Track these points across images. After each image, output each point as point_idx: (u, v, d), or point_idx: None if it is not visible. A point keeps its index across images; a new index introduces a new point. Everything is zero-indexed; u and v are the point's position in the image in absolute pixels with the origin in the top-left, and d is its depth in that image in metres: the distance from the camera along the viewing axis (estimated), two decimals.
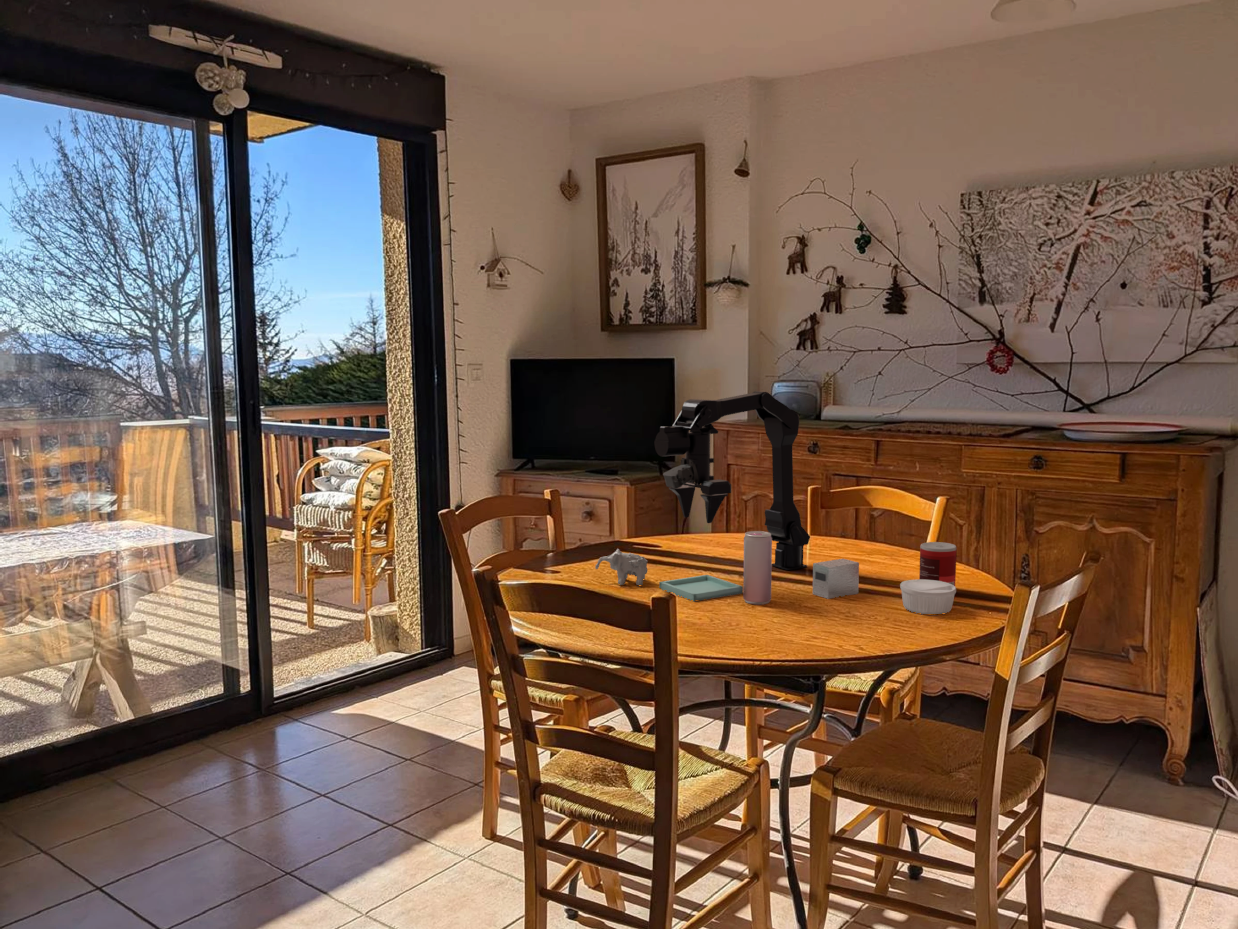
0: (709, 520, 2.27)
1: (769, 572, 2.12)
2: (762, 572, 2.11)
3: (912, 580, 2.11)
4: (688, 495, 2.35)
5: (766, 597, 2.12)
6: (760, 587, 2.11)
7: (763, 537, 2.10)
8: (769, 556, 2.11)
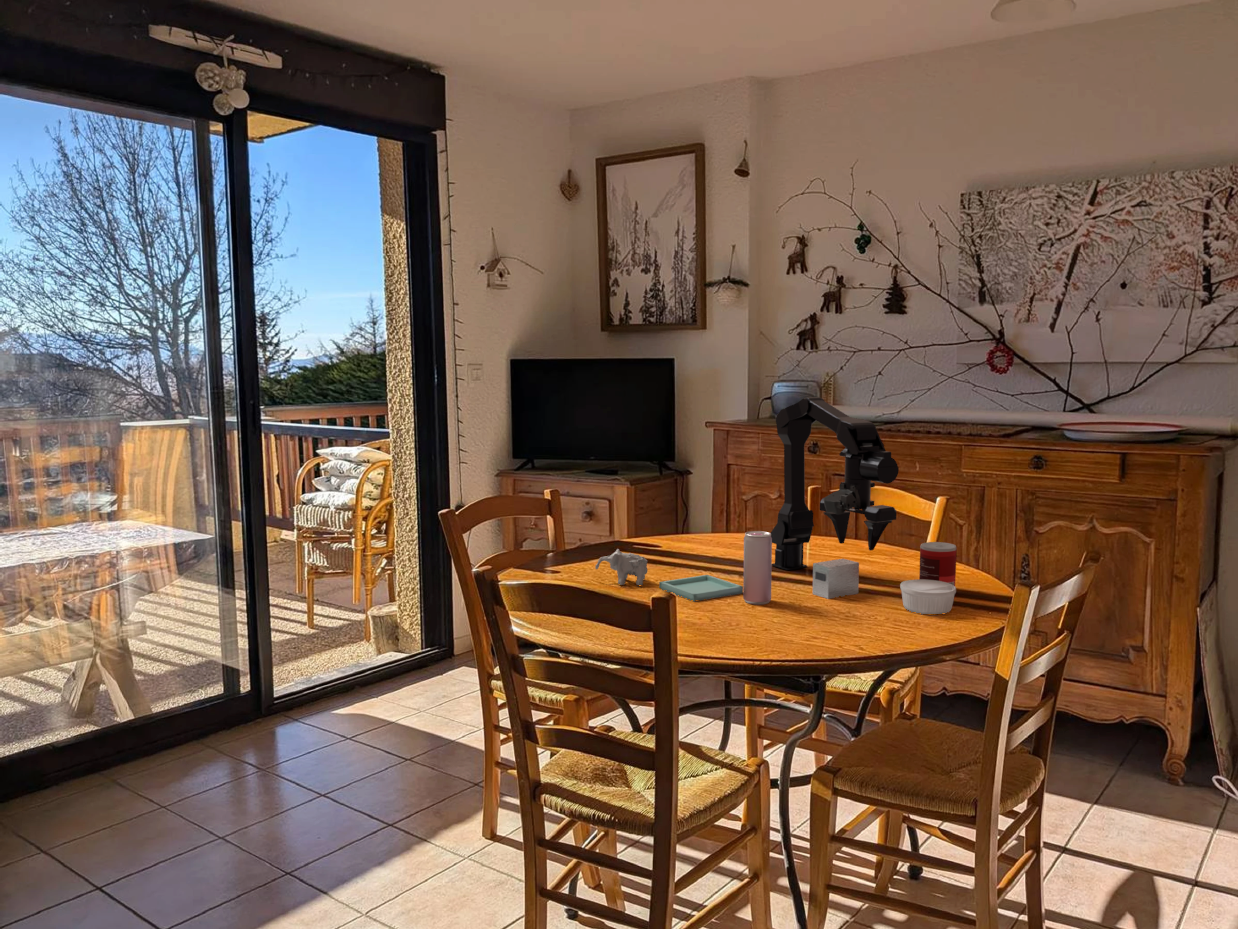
0: (871, 547, 2.18)
1: (769, 572, 2.12)
2: (762, 572, 2.11)
3: (912, 580, 2.11)
4: (844, 520, 2.27)
5: (766, 597, 2.12)
6: (760, 587, 2.11)
7: (763, 537, 2.10)
8: (769, 556, 2.11)
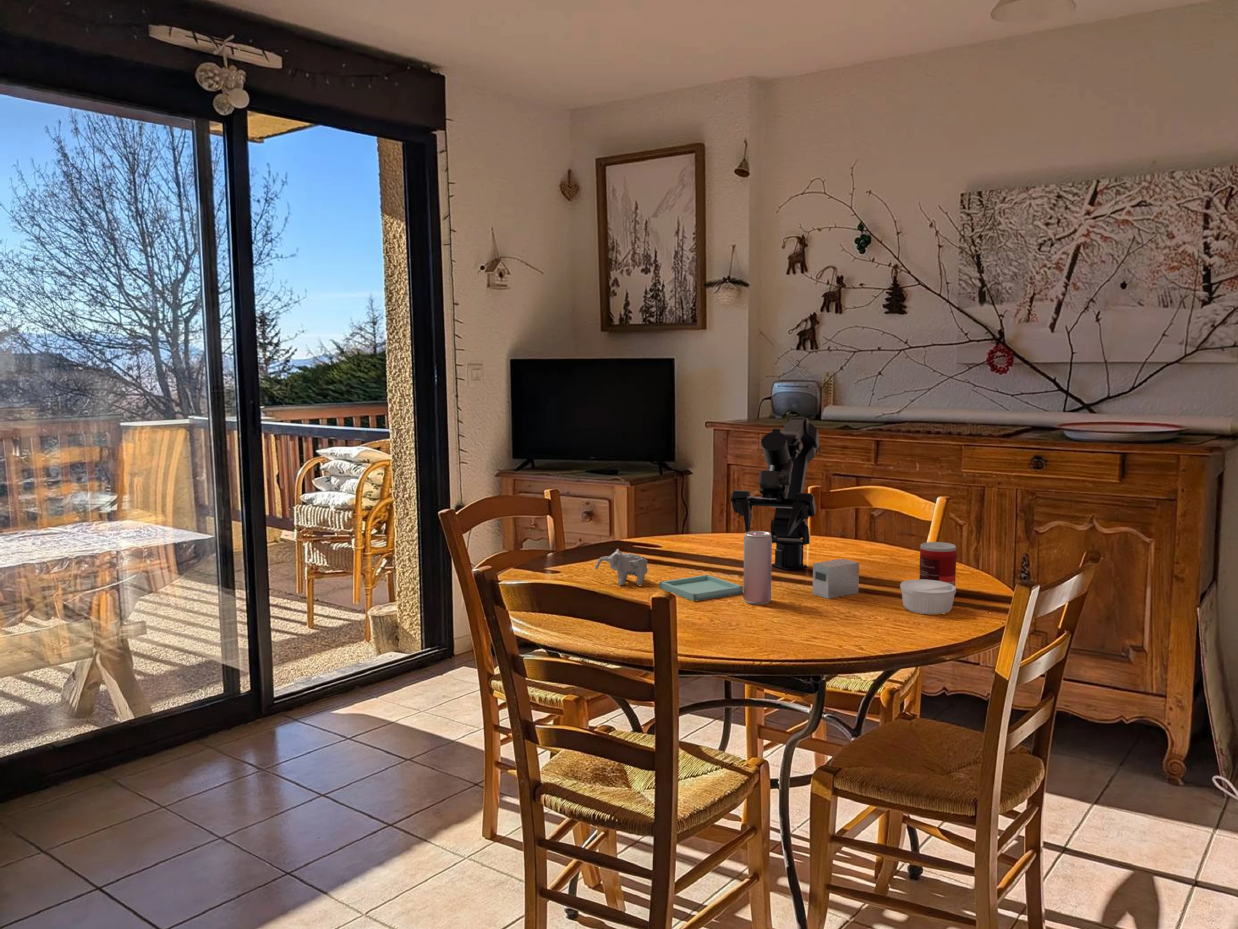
0: (789, 532, 2.19)
1: (769, 572, 2.12)
2: (762, 572, 2.11)
3: (912, 580, 2.11)
4: (750, 516, 2.26)
5: (766, 597, 2.12)
6: (760, 587, 2.11)
7: (763, 537, 2.10)
8: (769, 556, 2.11)
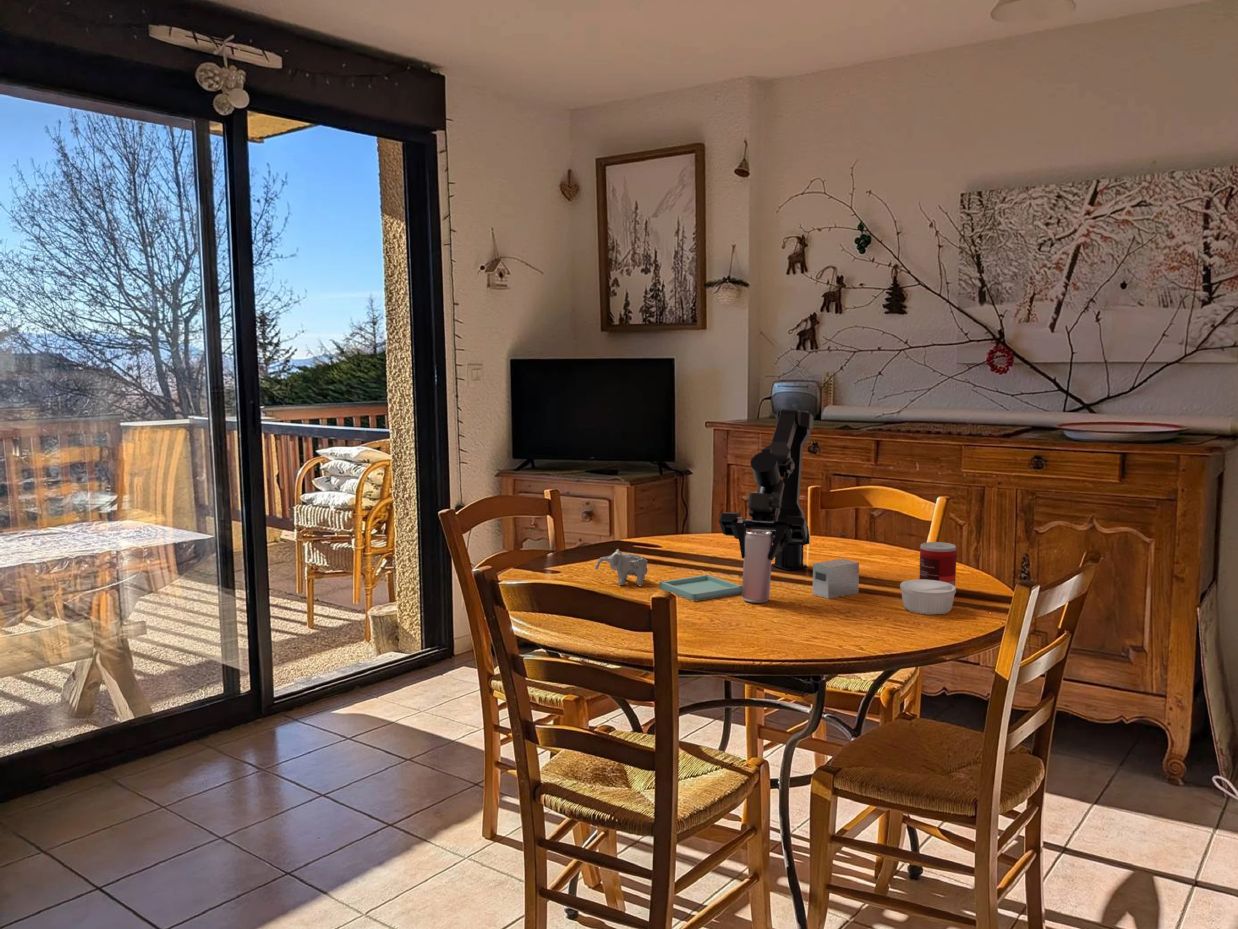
0: (773, 556, 2.12)
1: (768, 571, 2.12)
2: (762, 571, 2.11)
3: (912, 580, 2.11)
4: None
5: (764, 596, 2.12)
6: (759, 585, 2.12)
7: (764, 536, 2.11)
8: (769, 555, 2.12)
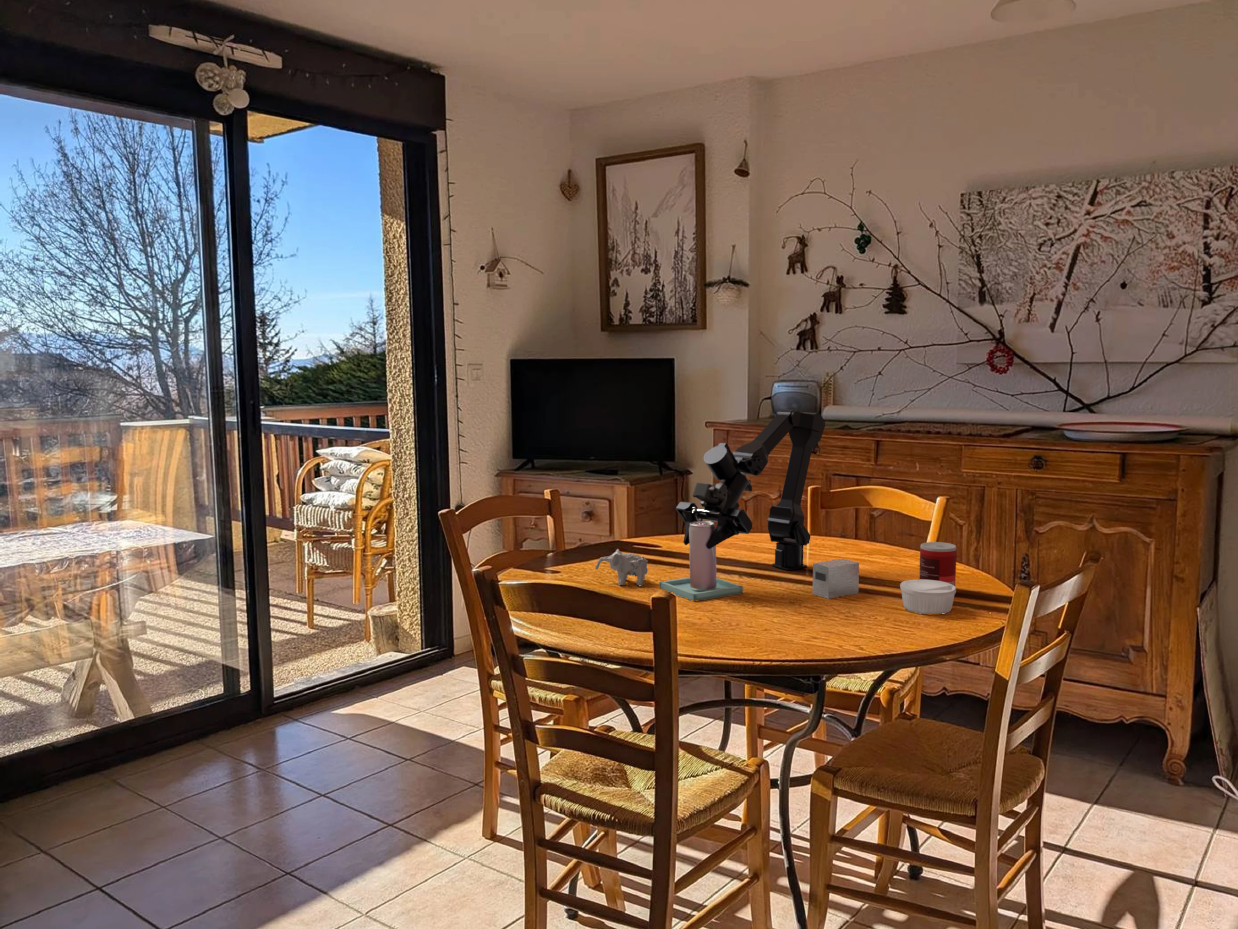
0: (710, 545, 2.19)
1: (708, 561, 2.20)
2: (700, 560, 2.19)
3: (912, 580, 2.11)
4: None
5: (705, 585, 2.20)
6: (699, 574, 2.20)
7: (700, 527, 2.19)
8: None
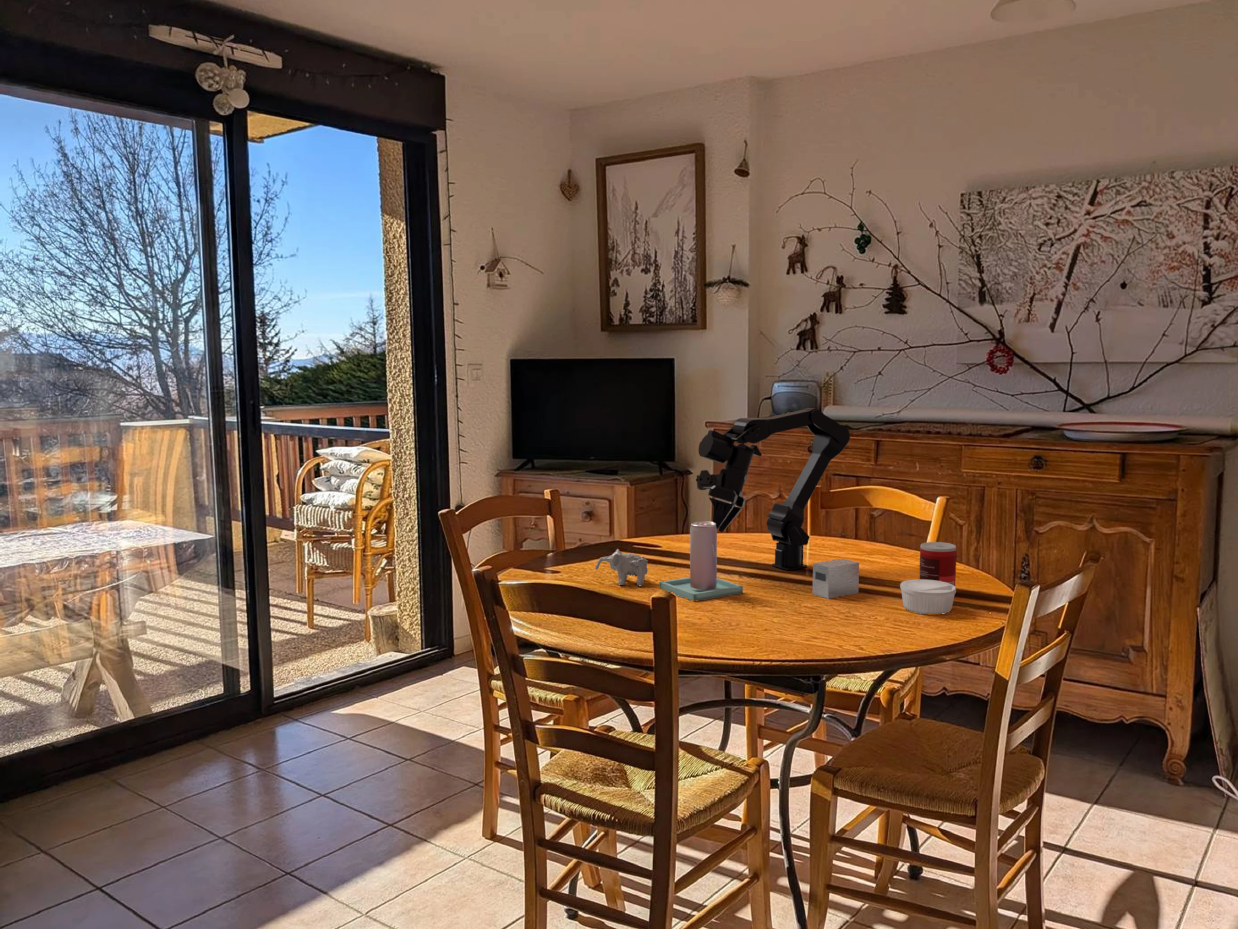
0: None
1: (709, 561, 2.20)
2: (700, 561, 2.19)
3: (912, 580, 2.11)
4: (730, 513, 2.42)
5: (705, 586, 2.20)
6: (699, 575, 2.20)
7: (701, 527, 2.19)
8: (709, 546, 2.19)
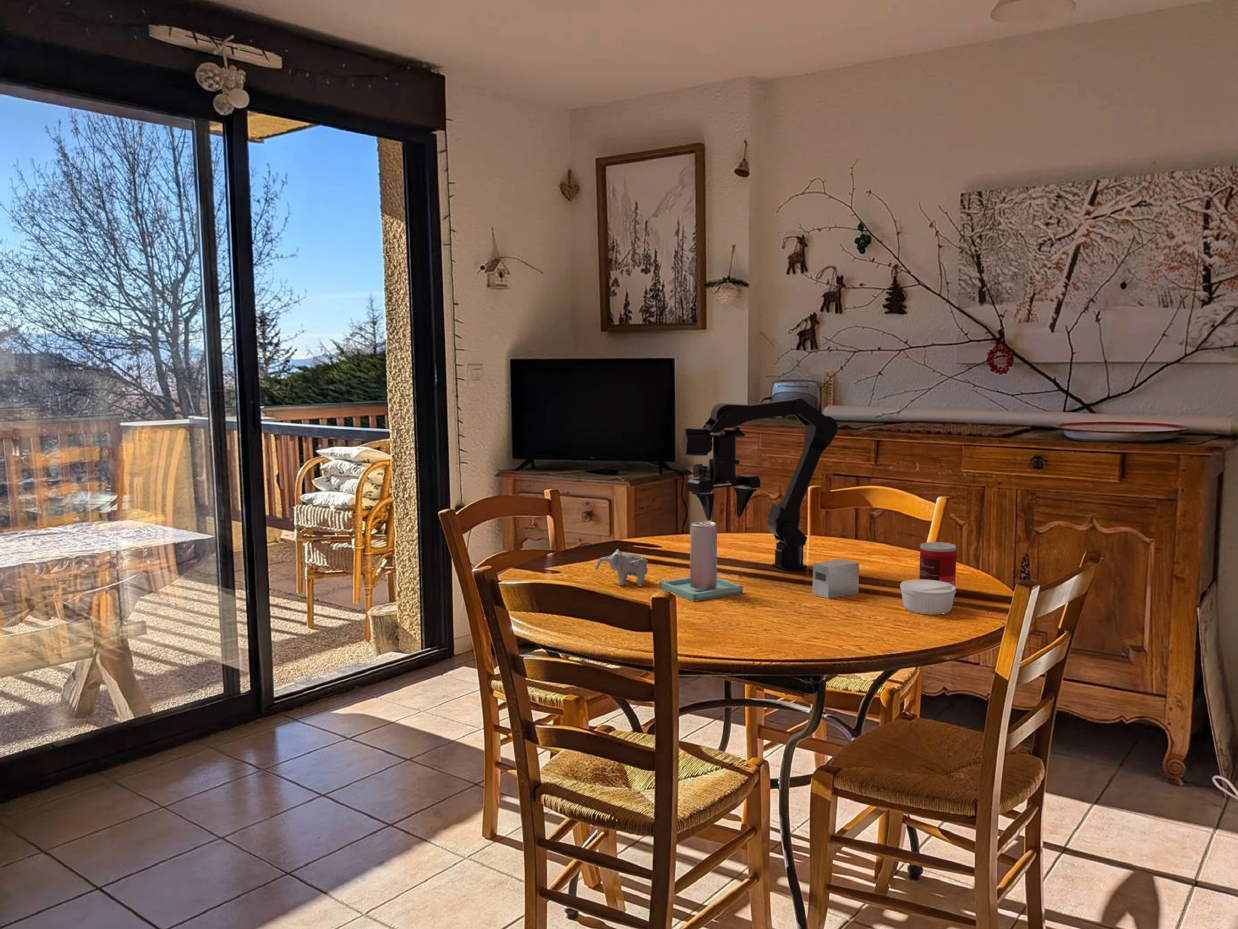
0: (707, 517, 2.40)
1: (709, 561, 2.20)
2: (701, 560, 2.19)
3: (912, 580, 2.11)
4: (742, 496, 2.44)
5: (705, 586, 2.20)
6: (699, 575, 2.20)
7: (702, 527, 2.19)
8: (709, 546, 2.19)
